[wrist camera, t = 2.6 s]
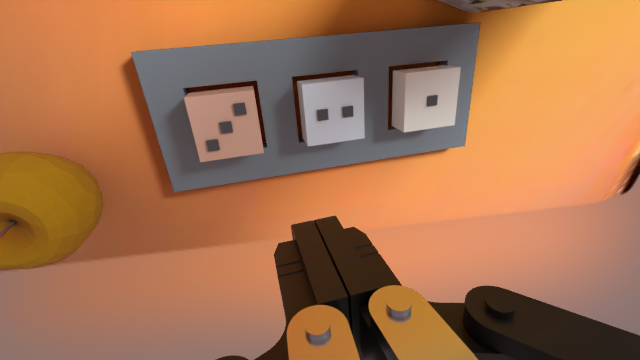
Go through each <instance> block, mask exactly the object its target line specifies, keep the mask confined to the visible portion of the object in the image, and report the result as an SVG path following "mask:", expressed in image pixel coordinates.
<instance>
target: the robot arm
mask: <svg viewBox="0 0 640 360" xmlns="http://www.w3.org/2000/svg"><path fill="white" fill-rule="evenodd" d="M291 230H292V237H293V240H292V241H287V242H283V243H279V244H278V246H277V248H276V251H275V254H274V257H275V263H276V269H277V274H278V280H279V285H280V291H281V296H282V301H283V307H284V312H285V317H286V327H285V331H284V333H283V335H282V337H281V338H280V340H279V341H278V342H277V343H276V345H274V346H273V347H272V348H271V349H270V350H268V351H267V352H266V353H264V354H262V355H261V356H259V357H258V358H256V359H255V360H640V336H639V335H636V334H633V333H630V332H628V331H624V330H622V329H619V328H616V327H613V326H610V325H607V324H605V323H602V322H599V321H596V320H593V319H590V318H587V317H584V316H581V315H578V314H576V313H573V312H570V311H567V310H564V309H561V308H558V307H555V306H553V305H550V304H547V303H544V302H541V301H538V300H535V299H532V298H529V297H526V296H524V295H521V294H518V293H515V292H512V291H509V290H506V289H503V288H500V287H495V286H480V287H476V288H473V289H472V290H470V291H469V292H468V293H467V295H466V298H465V303H434V302H429V301H427V300H426V299H425V298H424V297H423V296H422V295H421V294H419V293H418V292H417V291H415V290H413V289H411V288H408V287H404V286H402V285H401V284H400V282H399V281H398V279H397V278H396V277H395V275H394V274H393V272H392V271H391V269H390V268H389V267H388V265H387V264H386V262H385V261H384V260H383V258H382V257H381V255H380V254H378V251H377V250H376V248H375V247H374V246H373V245H372V243H371V241H370V240H369V238H368V237H367V236H366V234H364V233H363V232H361V231H360V230H358V229H356V228H355V227H351V228H346V229H343V227H342V225H341V224H340V222H339V220H338V219H337V217H336V216H331V217H327V218H322V219H317V220H314V222H313V221H308V222H303V223H298V224H294V225H291ZM217 360H248V359H246V358H244V357H241V356H226V357H222V358H219V359H217Z"/></svg>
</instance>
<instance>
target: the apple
mask: <svg viewBox="0 0 640 360" xmlns="http://www.w3.org/2000/svg"><path fill="white" fill-rule="evenodd" d="M102 208H103V200H102V192H101V190H100V188H99V186H98V184H97V182H96V180H95V179H94V177H93V176H92V175H91V173H90V172H89V171H87V170H86V169H85V168H84V167H83V166H81V165H79V164H77V163H74V162H72V161H70V160H68V159H65V158H62V157H58V156H54V155H49V154H40V153H31V152H7V153H0V269H27V268H37V267H41V266H44V265H47V264H51V263H54V262H57V261H59V260H61V259H63V258H65V257H67V256H69V255H71V254H72V253H73V252H74V251H75V250H76V249H77V248H78V247H79V246H80V245H81V244H82V243H83V242H84V241H85V239H86V238H87V237H88V236H89V235H90V234H91V232H92V231H93V230H94V228H95V227H96V225H97V224H98V222H99V220H100V216H101V213H102Z"/></svg>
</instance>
